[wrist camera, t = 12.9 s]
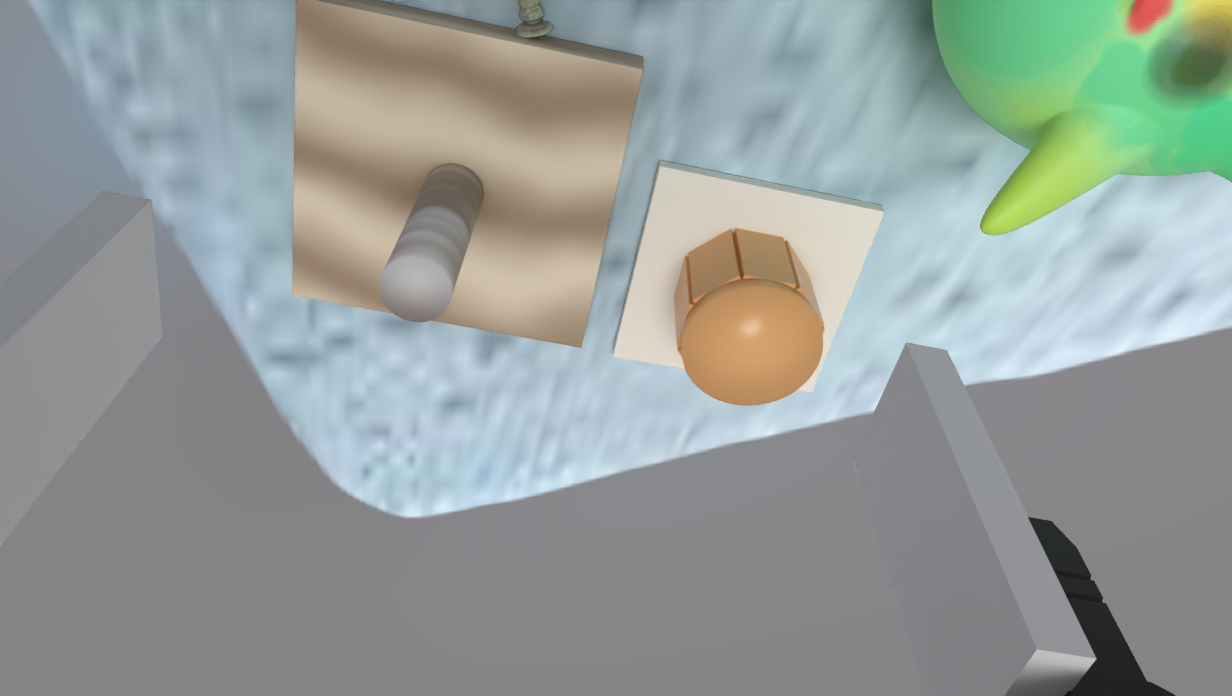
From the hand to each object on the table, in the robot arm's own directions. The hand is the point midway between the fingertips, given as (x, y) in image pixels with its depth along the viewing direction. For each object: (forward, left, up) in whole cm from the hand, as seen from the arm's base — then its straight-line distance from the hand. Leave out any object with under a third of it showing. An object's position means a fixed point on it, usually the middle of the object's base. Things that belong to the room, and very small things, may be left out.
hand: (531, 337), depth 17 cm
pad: (+15, +11, -32) cm, 37 cm away
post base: (+12, -5, -32) cm, 34 cm away
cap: (+15, +11, -31) cm, 36 cm away
